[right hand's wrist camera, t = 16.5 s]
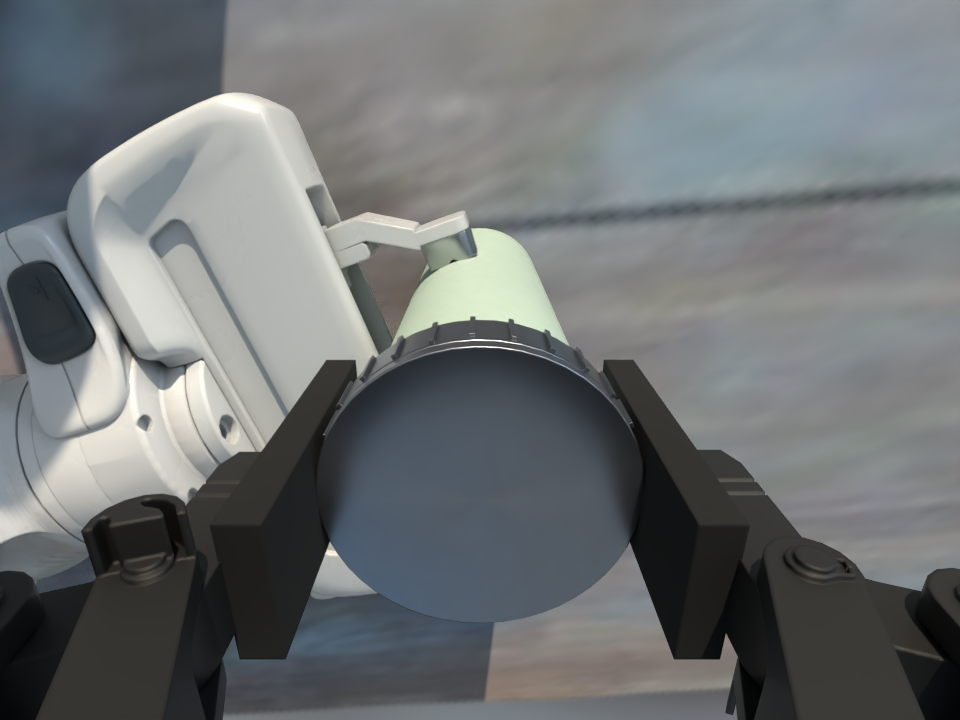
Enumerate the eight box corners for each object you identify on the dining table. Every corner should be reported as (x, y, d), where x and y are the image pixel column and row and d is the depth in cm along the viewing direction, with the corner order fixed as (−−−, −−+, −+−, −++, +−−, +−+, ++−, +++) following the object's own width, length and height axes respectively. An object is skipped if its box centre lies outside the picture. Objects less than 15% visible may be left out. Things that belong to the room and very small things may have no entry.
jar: (470, 359, 28) (459, 626, 13) (400, 275, 27) (286, 464, 11) (558, 295, 27) (668, 504, 11) (490, 203, 25) (506, 299, 10)
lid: (635, 553, 13) (656, 606, 12) (370, 588, 14) (356, 643, 12) (618, 291, 11) (640, 316, 9) (295, 341, 11) (267, 372, 10)
